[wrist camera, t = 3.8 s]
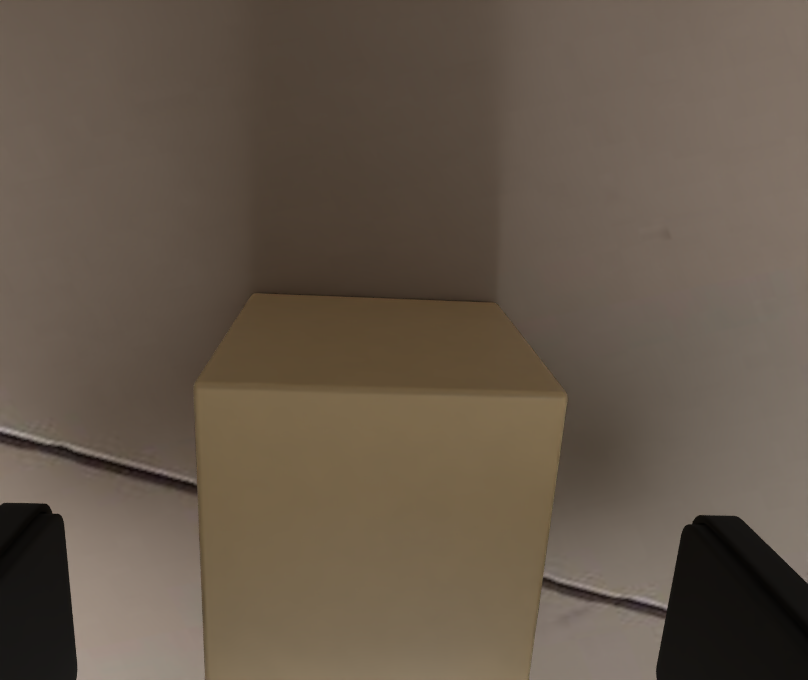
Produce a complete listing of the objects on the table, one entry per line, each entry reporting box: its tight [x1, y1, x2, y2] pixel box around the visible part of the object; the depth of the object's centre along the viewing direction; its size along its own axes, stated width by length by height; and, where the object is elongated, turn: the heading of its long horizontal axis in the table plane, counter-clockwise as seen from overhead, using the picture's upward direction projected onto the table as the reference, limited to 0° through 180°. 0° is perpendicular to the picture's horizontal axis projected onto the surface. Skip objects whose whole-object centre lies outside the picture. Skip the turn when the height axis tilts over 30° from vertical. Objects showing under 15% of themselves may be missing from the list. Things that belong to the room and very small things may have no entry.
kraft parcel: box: [193, 293, 568, 680], centre depth 11 cm, size 4×6×4 cm
